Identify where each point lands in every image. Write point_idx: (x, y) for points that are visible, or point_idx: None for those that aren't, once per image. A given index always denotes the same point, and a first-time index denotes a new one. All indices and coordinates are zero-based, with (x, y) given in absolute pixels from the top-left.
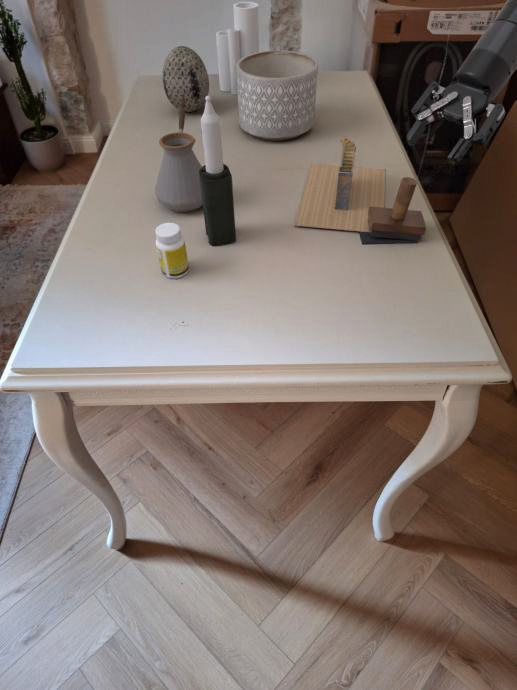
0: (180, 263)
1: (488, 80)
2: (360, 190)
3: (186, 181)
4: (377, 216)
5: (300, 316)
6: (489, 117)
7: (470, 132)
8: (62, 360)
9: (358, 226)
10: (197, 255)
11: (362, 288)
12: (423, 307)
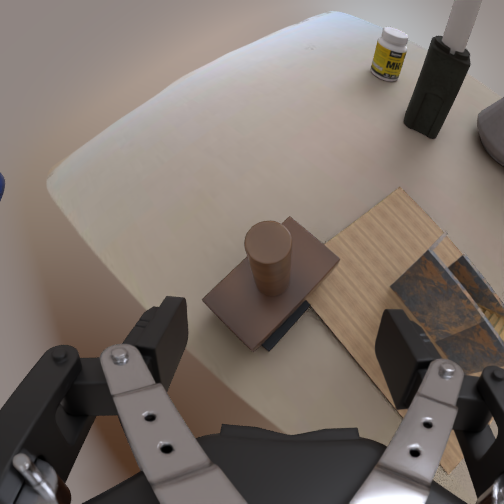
0: (374, 57)
1: None
2: None
3: (497, 107)
4: (300, 241)
5: (240, 92)
6: (19, 425)
7: (109, 364)
8: (327, 17)
9: None
10: (399, 94)
11: (215, 156)
12: (129, 184)
